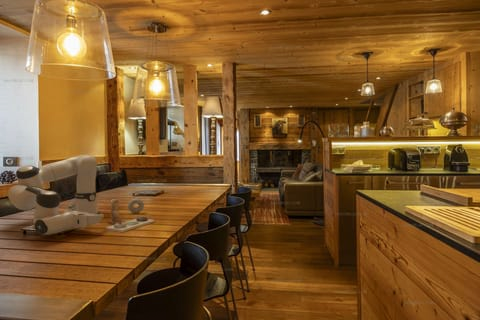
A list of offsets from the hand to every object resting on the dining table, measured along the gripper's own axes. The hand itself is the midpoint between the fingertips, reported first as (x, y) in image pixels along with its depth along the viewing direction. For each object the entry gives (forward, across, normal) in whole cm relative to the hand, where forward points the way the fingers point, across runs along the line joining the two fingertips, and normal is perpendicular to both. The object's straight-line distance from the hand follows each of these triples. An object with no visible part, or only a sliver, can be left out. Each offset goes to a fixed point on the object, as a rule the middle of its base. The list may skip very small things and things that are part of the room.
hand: (96, 214), depth 159 cm
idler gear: (+12, 0, -7) cm, 14 cm away
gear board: (+12, +13, -7) cm, 19 cm away
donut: (+37, -9, -8) cm, 39 cm away
